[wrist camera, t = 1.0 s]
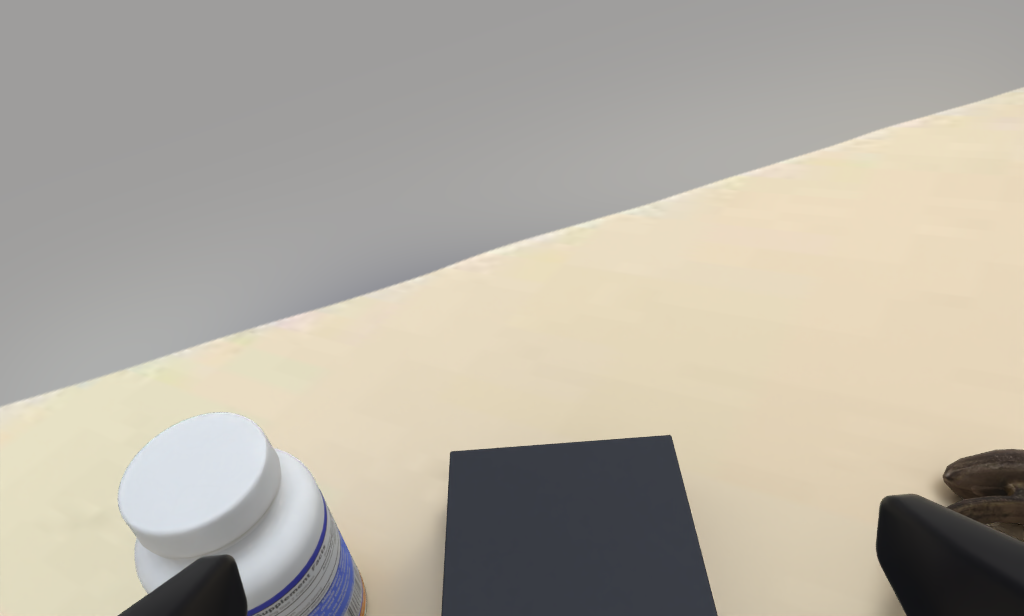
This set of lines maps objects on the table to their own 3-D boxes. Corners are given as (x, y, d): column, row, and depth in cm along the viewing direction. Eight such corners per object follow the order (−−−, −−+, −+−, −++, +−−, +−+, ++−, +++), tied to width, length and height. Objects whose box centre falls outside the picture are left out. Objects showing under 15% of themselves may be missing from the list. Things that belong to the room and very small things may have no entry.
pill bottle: (193, 643, 24) (42, 497, 17) (303, 527, 27) (210, 367, 21) (291, 736, 21) (158, 606, 15) (400, 596, 24) (330, 439, 18)
